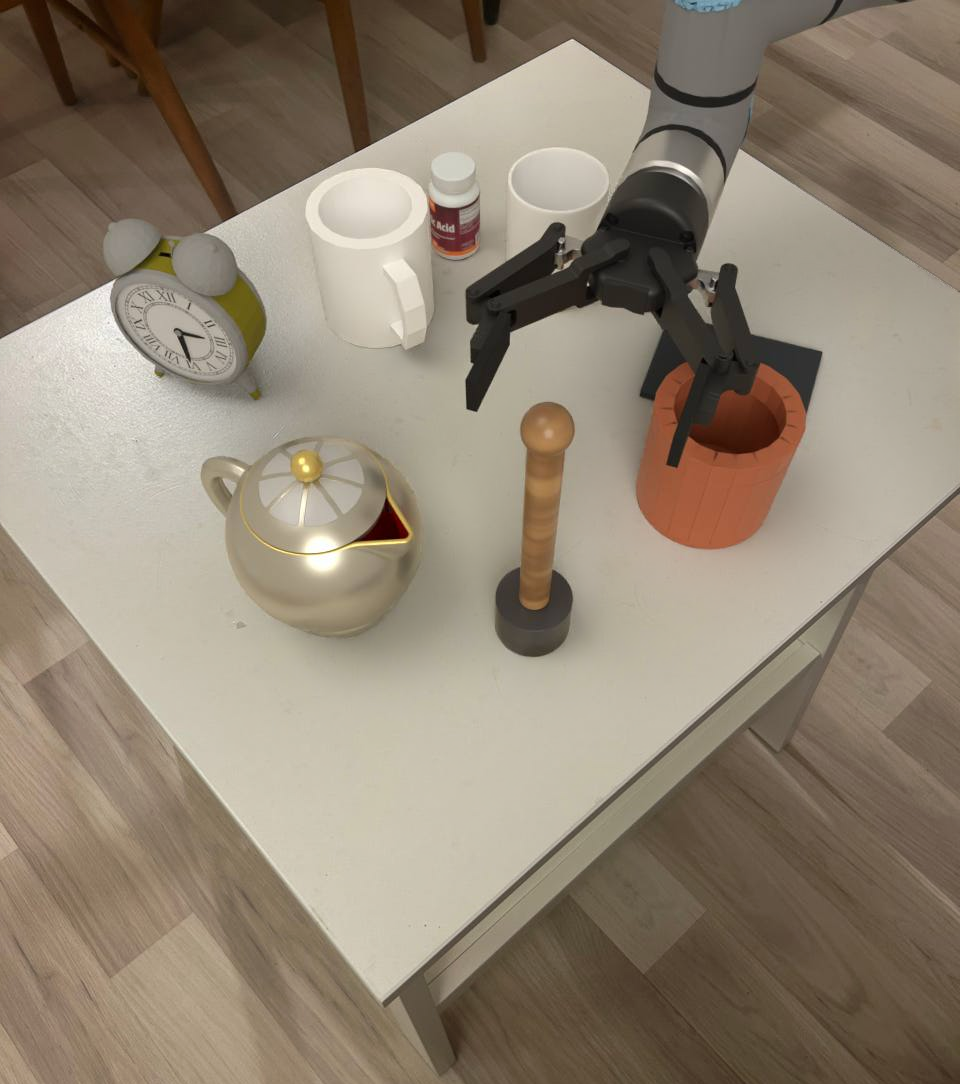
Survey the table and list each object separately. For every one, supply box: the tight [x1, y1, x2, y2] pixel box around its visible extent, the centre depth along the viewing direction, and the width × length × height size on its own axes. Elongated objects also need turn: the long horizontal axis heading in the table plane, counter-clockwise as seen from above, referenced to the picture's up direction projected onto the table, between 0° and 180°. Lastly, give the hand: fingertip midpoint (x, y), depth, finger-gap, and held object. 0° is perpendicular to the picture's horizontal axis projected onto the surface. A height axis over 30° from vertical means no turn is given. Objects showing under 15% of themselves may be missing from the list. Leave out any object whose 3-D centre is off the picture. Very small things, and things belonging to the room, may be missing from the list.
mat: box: [639, 322, 824, 415], centre depth 82 cm, size 14×10×1 cm
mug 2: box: [505, 146, 611, 309], centre depth 83 cm, size 9×12×11 cm
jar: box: [635, 362, 807, 550], centre depth 72 cm, size 11×11×10 cm
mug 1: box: [305, 167, 435, 351], centre depth 81 cm, size 14×10×11 cm
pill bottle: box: [427, 151, 481, 261], centre depth 87 cm, size 5×5×8 cm
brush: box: [494, 401, 576, 658], centre depth 60 cm, size 6×6×24 cm
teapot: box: [200, 435, 424, 639], centre depth 65 cm, size 18×14×16 cm
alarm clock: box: [102, 218, 268, 400], centre depth 76 cm, size 12×7×15 cm, turn 73°
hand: (570, 424), depth 59 cm, fingers open, 13 cm apart
